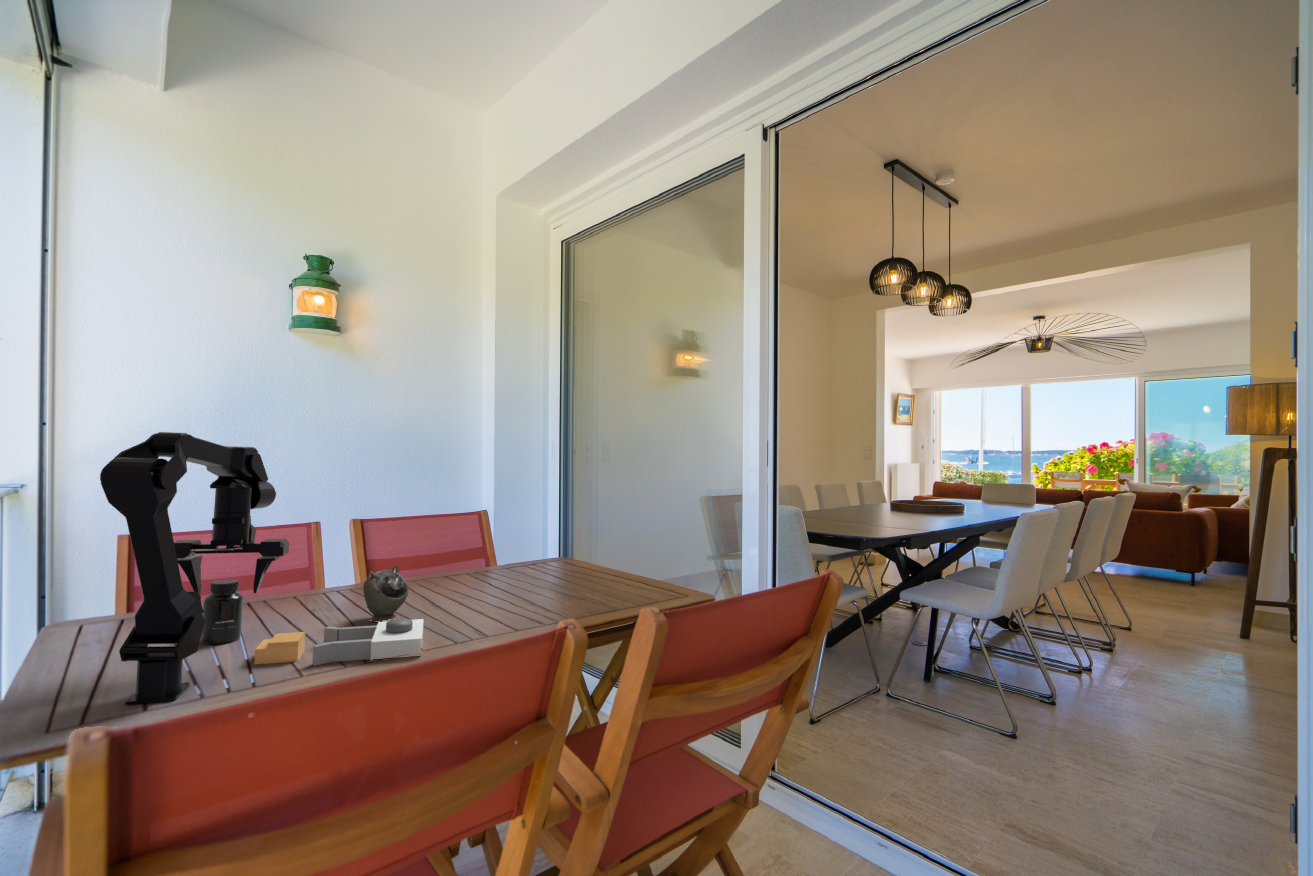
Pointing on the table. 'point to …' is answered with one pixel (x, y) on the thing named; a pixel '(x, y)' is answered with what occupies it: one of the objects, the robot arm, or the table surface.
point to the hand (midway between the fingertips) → (227, 594)
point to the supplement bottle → (222, 613)
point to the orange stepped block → (281, 648)
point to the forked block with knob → (369, 641)
